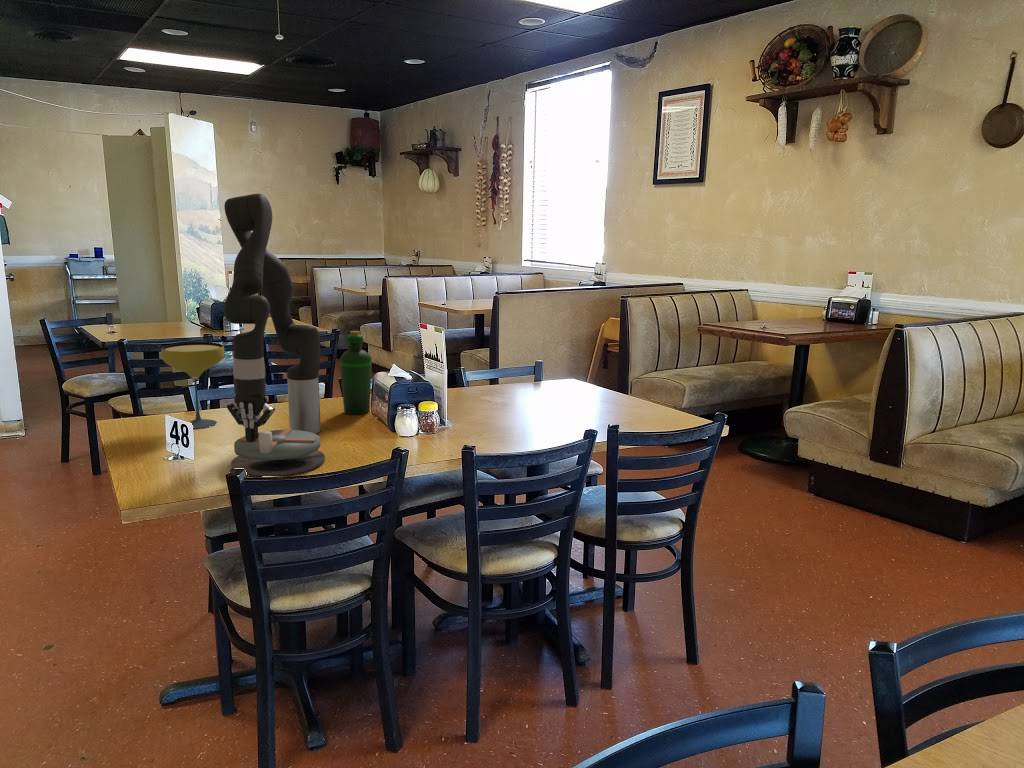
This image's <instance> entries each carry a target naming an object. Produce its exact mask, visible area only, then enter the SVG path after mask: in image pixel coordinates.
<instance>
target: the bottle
mask: <svg viewBox="0 0 1024 768" xmlns="http://www.w3.org/2000/svg"><path fill="white" fill-rule="evenodd" d="M349 333H350V334H348V335H347V339H346V343H347V344H348V349H347V350H345V351H344V352H343V353H342V354H341V356H340V358H339V367H340V376H341V377H340V379H341V380H340V381H341V389H342V400H343V411H344V413H346V414H347V415H352V416H354V415H356V416H358V415H359V416H360V415H364V414H368V413H369V412H370V411H371V388H372V387H371V384H372V383H371V382H372V356H371V355H370V354H369V352H367V351H366V350H364V349H362V348H363V345H362V344H363V343H364V339H363V337H364V336H363V335H362V334H360V333H361V331H360V330H351V331H349Z"/></svg>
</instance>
